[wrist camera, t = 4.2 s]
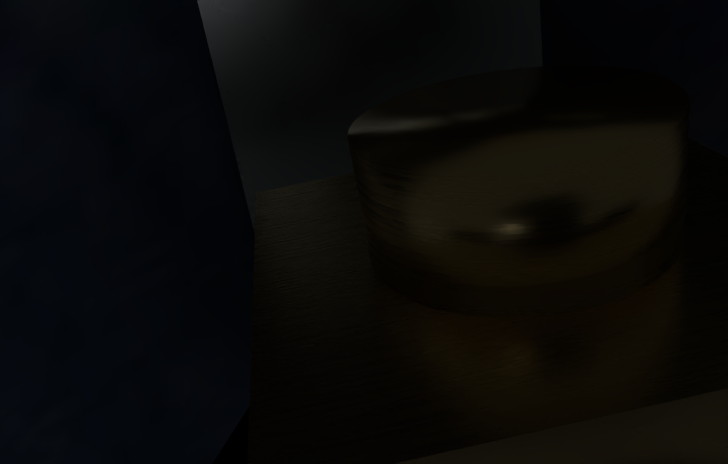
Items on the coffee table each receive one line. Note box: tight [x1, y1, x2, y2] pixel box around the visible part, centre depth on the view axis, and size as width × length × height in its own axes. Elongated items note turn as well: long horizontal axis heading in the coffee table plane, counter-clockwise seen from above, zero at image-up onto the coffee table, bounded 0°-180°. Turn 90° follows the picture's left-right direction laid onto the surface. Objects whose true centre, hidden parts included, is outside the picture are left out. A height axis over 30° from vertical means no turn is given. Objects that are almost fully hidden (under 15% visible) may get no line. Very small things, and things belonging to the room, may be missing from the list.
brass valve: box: [247, 65, 728, 464], centre depth 7 cm, size 7×5×6 cm
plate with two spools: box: [197, 0, 543, 233], centre depth 17 cm, size 22×9×5 cm, turn 9°
